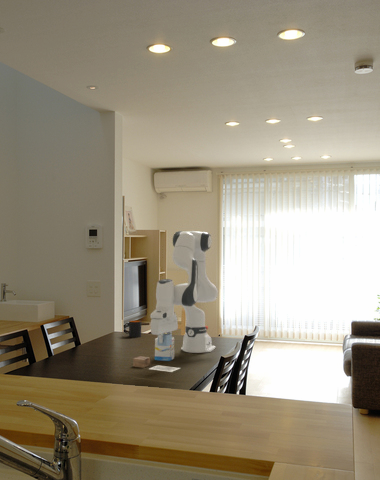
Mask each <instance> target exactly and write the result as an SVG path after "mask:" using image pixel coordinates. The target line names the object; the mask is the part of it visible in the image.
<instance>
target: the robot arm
mask: <svg viewBox="0 0 380 480" xmlns="http://www.w3.org/2000/svg"><path fill="white" fill-rule="evenodd" d="M172 246H173V251H172V255H171V257H172V258H171V259H172V261H173V263H174V264H175V265H176V266H177V267H178V268H180V269H183V270H185V272H186V274H187V275H188V277H187V279H188V280H187V282H186V283H179V284H176V285H174V281H173V279H168V278H164V279H160V280H158V281H157V283H156V290H155V300H156V304H155V309H154V310H153V311H152V312H151V313H150V317H149V318H150V319H151V320H150V333H151V335H154V336H157V338H159V343H163V342H164V339H163V337H162V336H163V334H172V333H173V332H175V331H177V330H178V327H179V324H178V323H179V322H178V316H177V313H176V312H175V306H182V308H183V309H184V312H185V313H184V314H185V327H184V328H185V331H184V332H185V333H184V335H183V338H182V346H181V348H180V350H182V352H186V353H195V354H197V353H198V354H199V353H201V354H202V353H210V352H212V351H214V350H215V349H216V348H217V347H216V346H215V345H213V344H212V343H213V342H212V341H213V340H212V337H211V336H210V335H209V334H208V332H207V330H208V329H209V326H208V325H206V314H205V311H204V310H203V309H201V308H199V307H197V306H196V305H195V304H197V303H210V302H214V301H216V300H217V298H218V296H219V291H218V288H217V286H216V285H215V284H214V283H213V282H211V281H210V279H209V277H208V275H207V269H206V265H207V263H206V260H207V259H206V258H207V257H206V251H208V250H209V249H210V248H211V246H212V236H211V234H210V233H209V232H206V231H199V230H197V231H196V230H187V231H186V230H185V231H183V230H179V231H176V232H175V233H173V236H172ZM172 335H173V334H172Z"/></svg>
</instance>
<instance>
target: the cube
mask: <svg viewBox="0 0 380 480" xmlns="http://www.w3.org/2000/svg"><path fill="white" fill-rule="evenodd" d="M162 337H163V339H164V342H163V343H159V338H158V337H157V338H158V346H169V345H172V337H173V334H167V333H163V336H162Z"/></svg>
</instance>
